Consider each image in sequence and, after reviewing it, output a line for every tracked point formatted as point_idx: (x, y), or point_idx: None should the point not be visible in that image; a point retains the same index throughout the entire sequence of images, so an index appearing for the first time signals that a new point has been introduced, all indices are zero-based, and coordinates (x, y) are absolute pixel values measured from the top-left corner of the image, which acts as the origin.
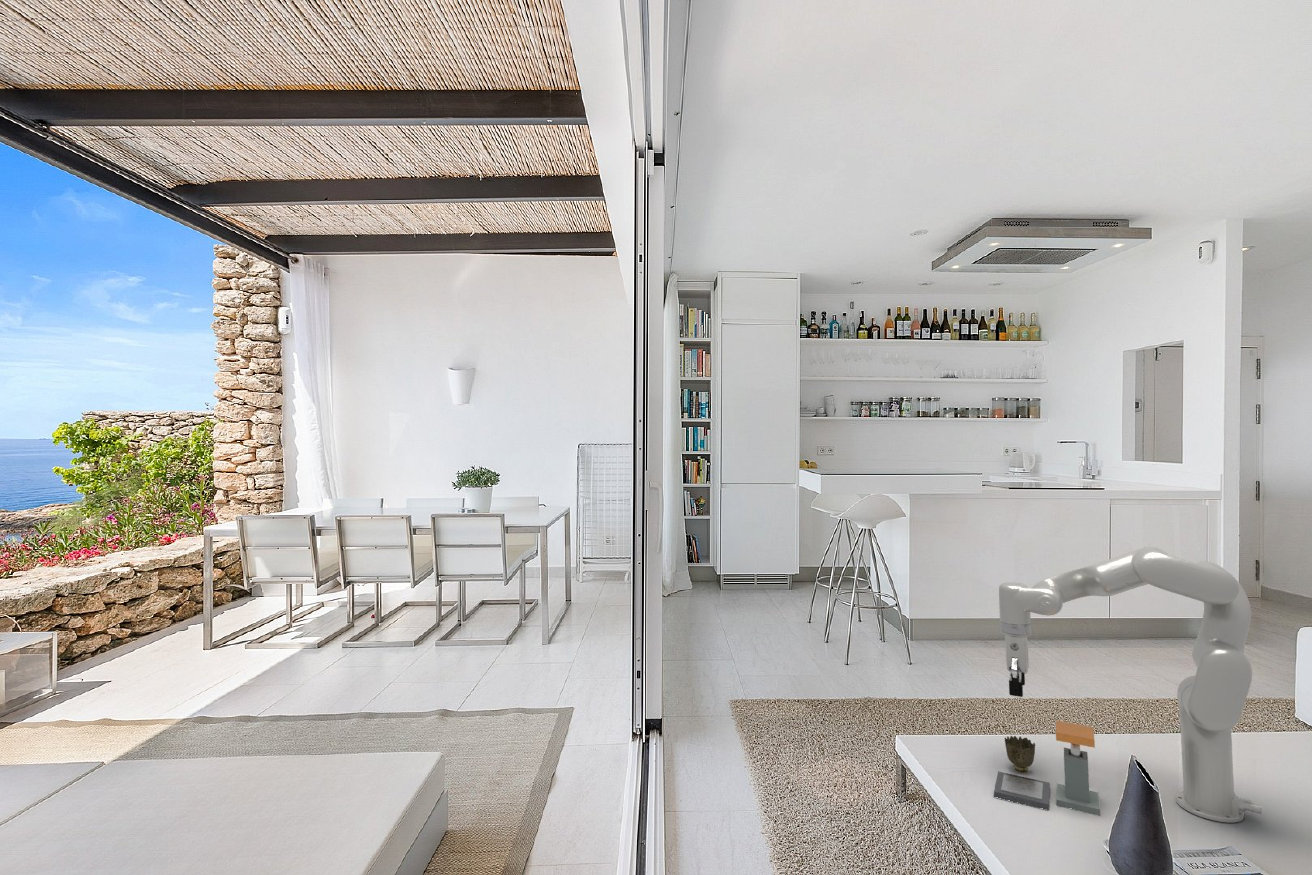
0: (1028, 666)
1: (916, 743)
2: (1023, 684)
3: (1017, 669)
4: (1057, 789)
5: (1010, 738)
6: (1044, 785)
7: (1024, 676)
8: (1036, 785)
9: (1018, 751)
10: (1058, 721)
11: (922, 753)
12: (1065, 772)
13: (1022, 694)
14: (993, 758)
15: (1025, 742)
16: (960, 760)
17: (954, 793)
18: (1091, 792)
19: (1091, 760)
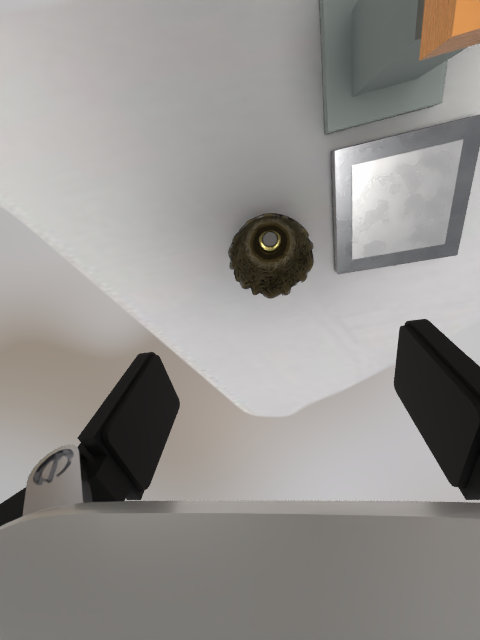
0: (119, 522)
1: (277, 407)
2: (157, 358)
3: (117, 481)
4: (369, 118)
5: (249, 286)
6: (361, 158)
7: (120, 395)
8: (378, 176)
9: (310, 249)
10: (467, 9)
11: (311, 393)
12: None
13: (435, 327)
14: (248, 299)
15: (233, 249)
16: (300, 342)
17: (460, 317)
18: (336, 6)
19: (77, 96)
